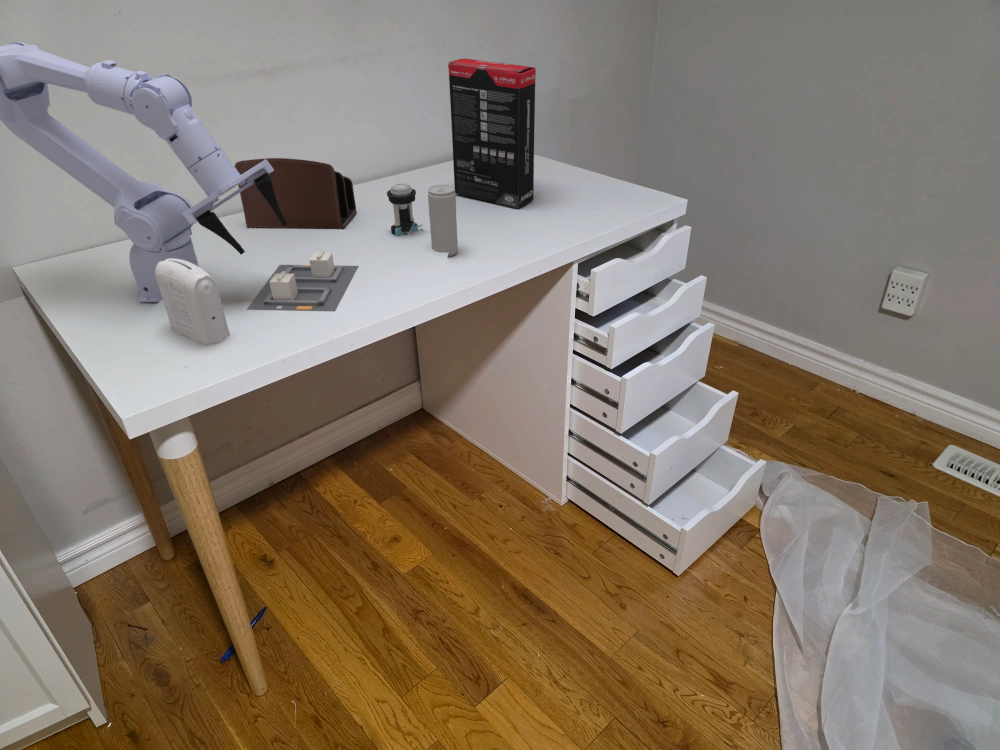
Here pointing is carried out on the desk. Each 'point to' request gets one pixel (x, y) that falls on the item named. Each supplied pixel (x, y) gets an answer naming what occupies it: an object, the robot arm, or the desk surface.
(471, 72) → the graphics card box
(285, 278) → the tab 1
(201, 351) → the desk surface
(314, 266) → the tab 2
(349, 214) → the letter holder
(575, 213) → the desk surface
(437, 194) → the beverage can
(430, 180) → the desk surface
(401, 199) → the push button
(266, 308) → the switch bank
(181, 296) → the photo printer
